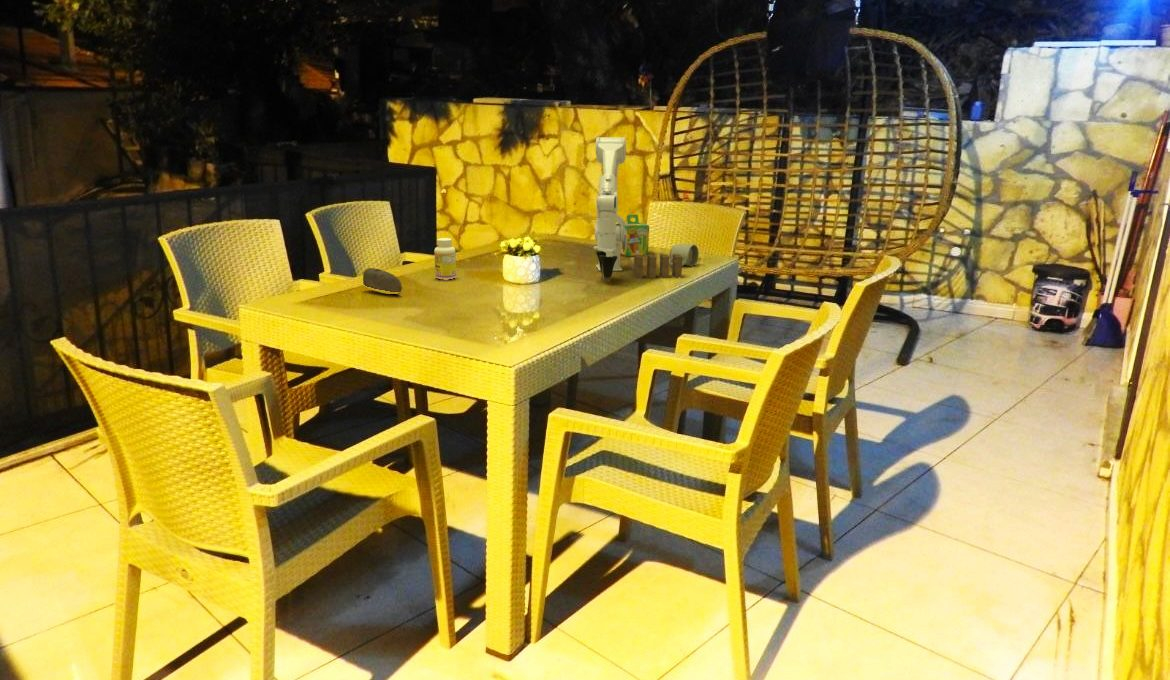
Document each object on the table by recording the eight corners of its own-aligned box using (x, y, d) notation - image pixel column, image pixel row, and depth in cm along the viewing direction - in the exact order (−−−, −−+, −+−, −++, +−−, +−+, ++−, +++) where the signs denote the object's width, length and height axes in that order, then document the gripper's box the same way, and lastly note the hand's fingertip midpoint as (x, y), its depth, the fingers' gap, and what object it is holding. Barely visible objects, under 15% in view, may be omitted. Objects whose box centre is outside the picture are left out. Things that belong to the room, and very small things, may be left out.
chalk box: (626, 257, 313) (627, 217, 309) (616, 253, 321) (617, 214, 317) (649, 255, 317) (650, 216, 313) (638, 251, 325) (639, 213, 321)
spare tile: (601, 279, 274) (601, 258, 272) (607, 279, 274) (608, 258, 272) (603, 283, 269) (603, 261, 267) (610, 282, 269) (610, 261, 267)
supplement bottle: (434, 277, 275) (432, 237, 272) (454, 276, 277) (453, 237, 274) (437, 281, 269) (435, 241, 266) (458, 280, 271) (456, 240, 268)
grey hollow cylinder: (678, 262, 305) (678, 240, 303) (698, 264, 300) (699, 243, 298) (663, 267, 296) (664, 245, 294) (684, 269, 292) (684, 247, 290)
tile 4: (658, 275, 282) (659, 254, 280) (665, 275, 282) (666, 254, 280) (661, 278, 277) (662, 256, 275) (668, 278, 277) (669, 256, 275)
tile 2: (633, 275, 281) (633, 254, 279) (639, 275, 281) (640, 254, 279) (635, 278, 276) (636, 257, 274) (642, 278, 276) (643, 257, 274)
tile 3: (646, 275, 281) (646, 254, 279) (652, 275, 281) (653, 254, 279) (648, 278, 276) (649, 257, 274) (655, 278, 277) (656, 257, 275)
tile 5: (671, 274, 282) (672, 254, 280) (678, 274, 282) (678, 253, 280) (674, 277, 277) (675, 256, 275) (681, 277, 278) (682, 256, 276)
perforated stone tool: (408, 296, 249) (406, 272, 248) (393, 299, 245) (392, 275, 244) (376, 288, 259) (374, 266, 257) (361, 291, 255) (360, 268, 253)
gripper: (591, 229, 274) (590, 271, 277) (597, 236, 260) (596, 280, 263) (612, 229, 274) (612, 270, 278) (619, 236, 261) (619, 279, 264)
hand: (606, 275), depth 271 cm, fingers open, 6 cm apart
